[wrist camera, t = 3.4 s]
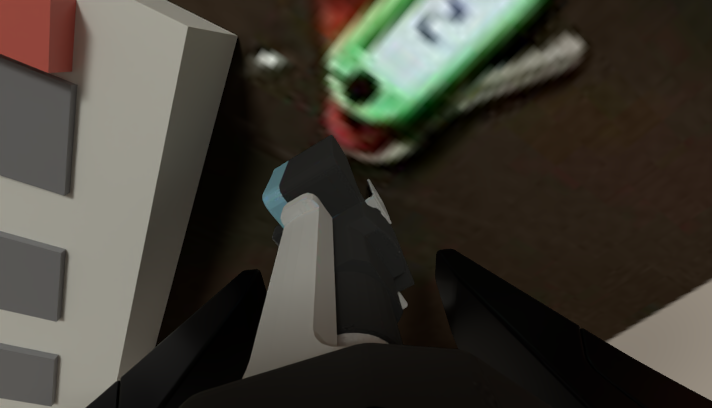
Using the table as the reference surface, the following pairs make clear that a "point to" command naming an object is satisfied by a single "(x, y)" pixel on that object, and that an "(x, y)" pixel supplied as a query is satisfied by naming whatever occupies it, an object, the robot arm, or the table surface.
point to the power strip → (96, 183)
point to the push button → (346, 310)
